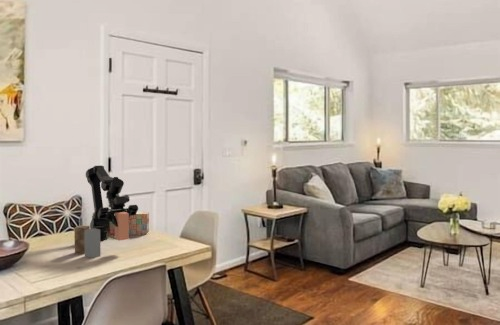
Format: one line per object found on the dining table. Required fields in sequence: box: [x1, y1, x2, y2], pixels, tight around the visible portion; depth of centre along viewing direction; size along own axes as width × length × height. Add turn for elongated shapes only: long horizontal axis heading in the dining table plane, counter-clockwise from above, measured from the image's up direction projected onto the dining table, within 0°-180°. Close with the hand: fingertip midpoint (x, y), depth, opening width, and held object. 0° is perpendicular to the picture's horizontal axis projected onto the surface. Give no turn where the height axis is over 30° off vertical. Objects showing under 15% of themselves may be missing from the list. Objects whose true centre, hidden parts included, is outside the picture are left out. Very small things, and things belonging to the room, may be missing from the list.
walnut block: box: [74, 225, 90, 255], centre depth 210 cm, size 5×5×12 cm
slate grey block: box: [84, 228, 102, 259], centre depth 203 cm, size 5×5×12 cm
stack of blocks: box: [109, 211, 150, 236], centre depth 252 cm, size 21×6×12 cm, turn 93°
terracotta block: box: [114, 212, 130, 241], centre depth 209 cm, size 5×5×12 cm
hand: (122, 225), depth 208 cm, fingers closed on terracotta block, 5 cm apart
